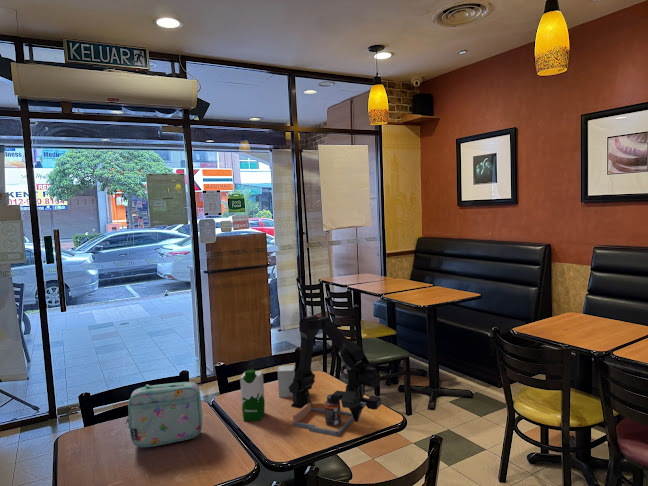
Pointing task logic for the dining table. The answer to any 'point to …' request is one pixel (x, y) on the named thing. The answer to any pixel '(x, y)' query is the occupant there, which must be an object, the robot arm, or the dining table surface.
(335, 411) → the supplement bottle
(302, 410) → the grey flat frame
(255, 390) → the milk carton
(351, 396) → the robot arm
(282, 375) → the supplement box
